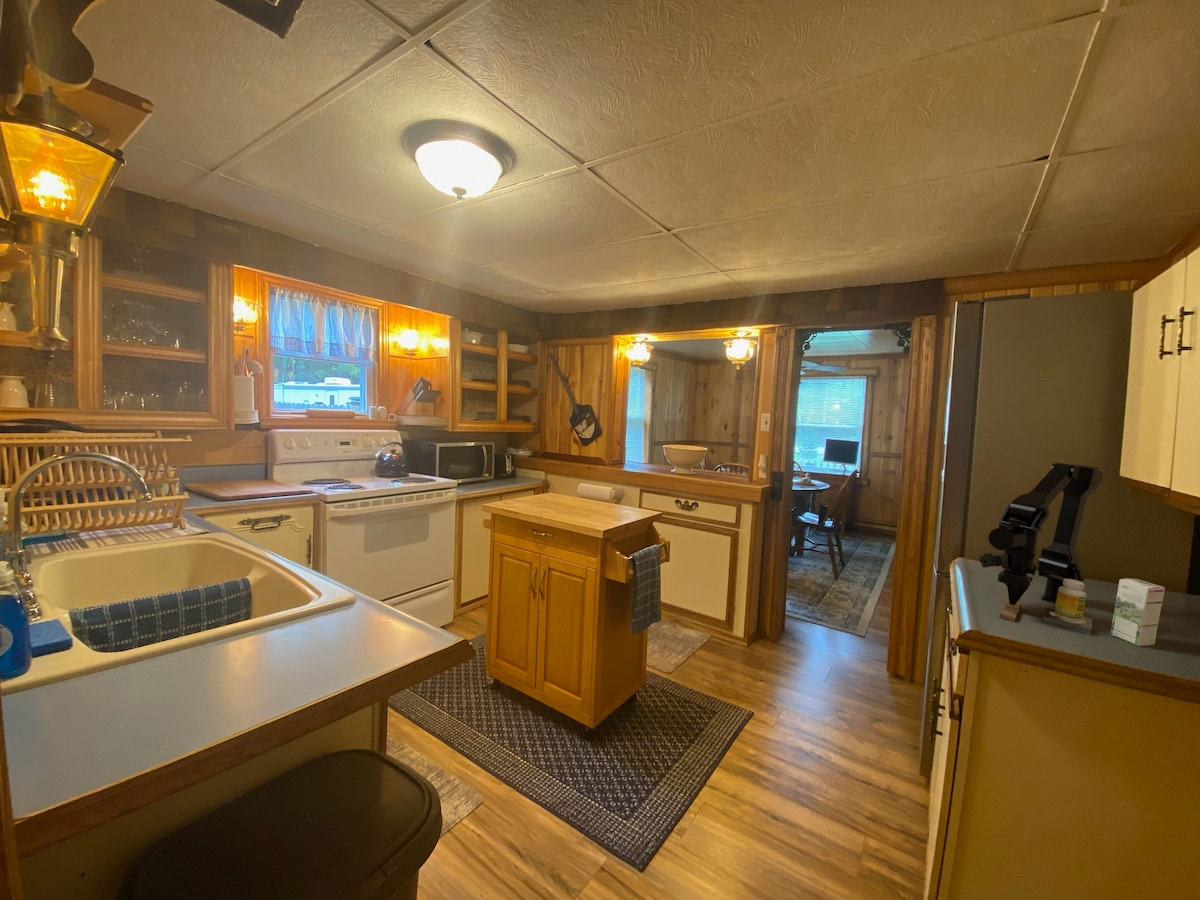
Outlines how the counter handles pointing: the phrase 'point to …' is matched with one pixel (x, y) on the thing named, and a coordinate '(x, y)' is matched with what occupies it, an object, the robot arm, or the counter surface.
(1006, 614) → the rail
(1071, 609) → the supplement bottle
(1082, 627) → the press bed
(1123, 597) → the syrup box
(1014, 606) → the handle
